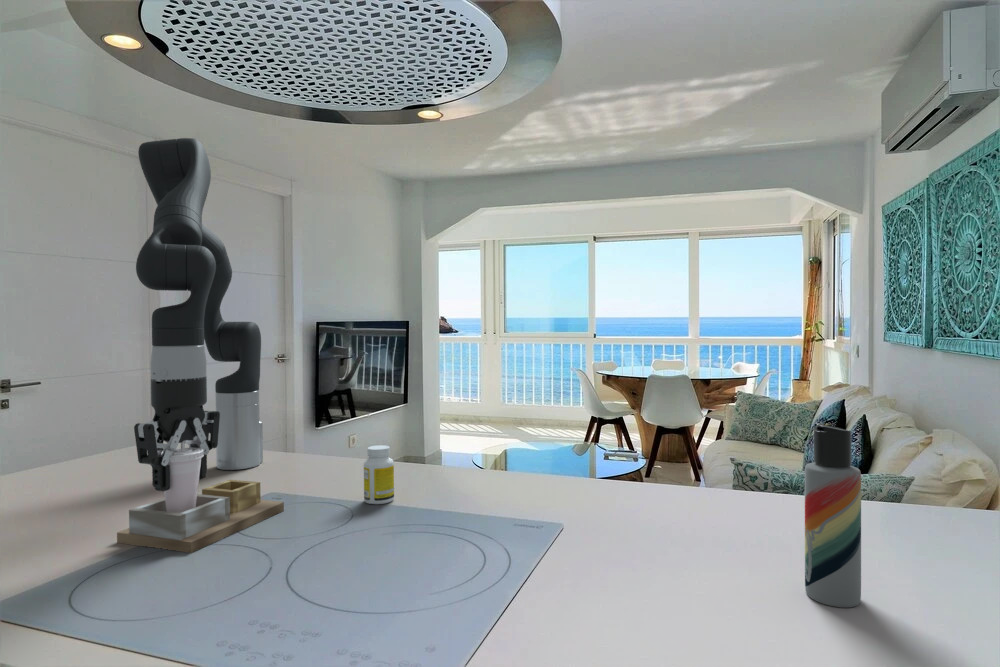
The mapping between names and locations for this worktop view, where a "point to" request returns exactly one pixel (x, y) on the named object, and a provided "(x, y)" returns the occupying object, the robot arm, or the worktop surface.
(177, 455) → the smoothie
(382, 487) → the supplement bottle
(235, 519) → the fitting board
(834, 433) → the lotion bottle
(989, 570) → the worktop surface
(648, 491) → the worktop surface
